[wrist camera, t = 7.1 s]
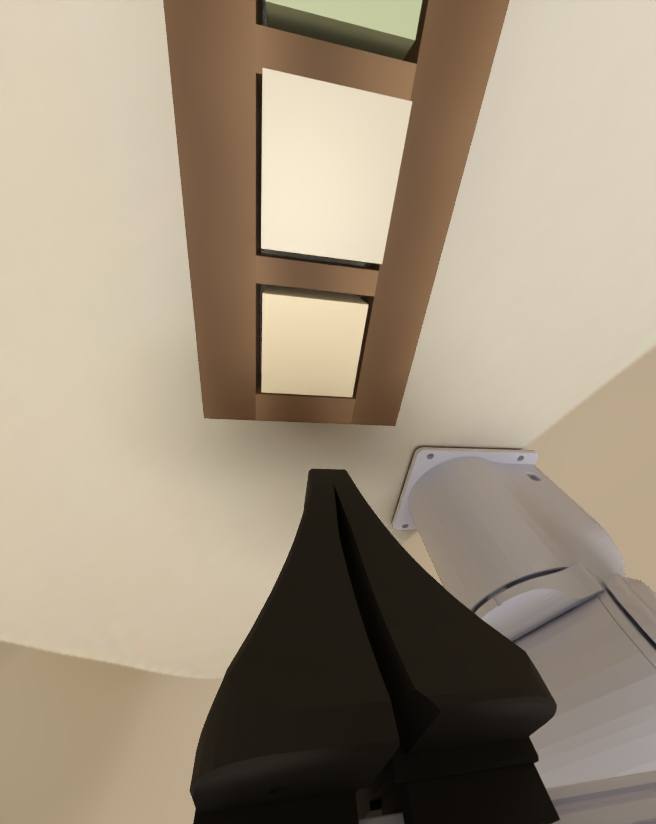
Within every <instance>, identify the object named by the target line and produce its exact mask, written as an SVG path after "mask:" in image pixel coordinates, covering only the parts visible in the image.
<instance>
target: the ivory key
mask: <svg viewBox="0 0 656 824" xmlns="http://www.w3.org/2000/svg"><path fill="white" fill-rule="evenodd" d="M411 106H412V101H408V100H403V99H399V98H395V97H390V96H386V95H381V94H377V93H373V92H368V91H364V90H359V89H355V88H350V87H346V86H342V85H337V84H333V83H328V82H324V81H319V80H315V79H311V78H306V77H302V76H297V75H293V74H289V73H284V72H280V71H275V70H271V69H266V68H263V72H262V197H261V248H262V249H270V250H277V251H285V252H293V253H300V254H308V255H316V256H323V257H331V258H339V259H346V260H354V261H362V262H369V263H377V264H382V262H383V257H384V252H385V246H386V241H387V235H388V230H389V225H390V219H391V214H392V209H393V203H394V198H395V192H396V187H397V182H398V176H399V171H400V166H401V160H402V155H403V149H404V144H405V139H406V133H407V128H408V123H409V117H410V112H411Z"/></svg>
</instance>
